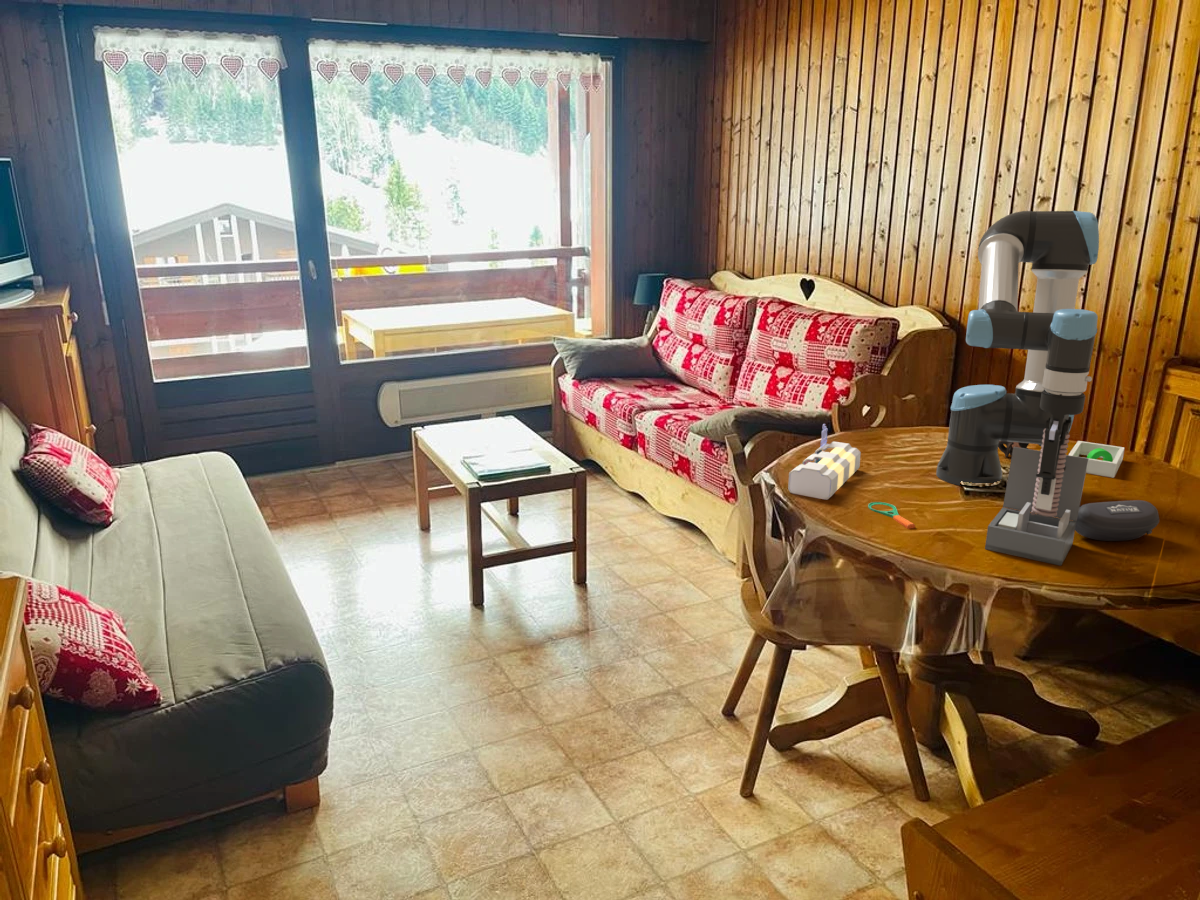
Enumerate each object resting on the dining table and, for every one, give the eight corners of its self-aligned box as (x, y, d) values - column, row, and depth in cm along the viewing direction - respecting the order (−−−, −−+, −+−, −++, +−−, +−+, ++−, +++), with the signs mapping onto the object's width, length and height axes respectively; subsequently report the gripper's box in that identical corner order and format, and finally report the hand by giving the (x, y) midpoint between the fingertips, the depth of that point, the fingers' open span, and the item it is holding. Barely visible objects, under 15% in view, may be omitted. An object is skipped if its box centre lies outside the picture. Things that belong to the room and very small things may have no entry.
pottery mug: (1042, 459, 233) (1052, 438, 227) (1034, 482, 228) (1044, 461, 222) (996, 443, 238) (1005, 422, 232) (987, 466, 233) (995, 445, 227)
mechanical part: (1093, 484, 220) (1099, 454, 218) (1083, 477, 226) (1088, 447, 224) (1143, 486, 219) (1149, 456, 217) (1131, 478, 225) (1137, 449, 223)
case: (984, 548, 176) (996, 465, 171) (1003, 524, 189) (1014, 446, 183) (1061, 565, 168) (1075, 478, 163) (1074, 539, 181) (1088, 457, 175)
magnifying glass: (862, 507, 200) (863, 501, 199) (885, 505, 201) (886, 498, 201) (898, 532, 186) (899, 525, 185) (923, 530, 187) (924, 522, 187)
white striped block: (819, 468, 228) (822, 420, 224) (858, 474, 223) (863, 425, 219) (787, 496, 207) (790, 444, 203) (830, 504, 202) (834, 450, 198)
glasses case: (1087, 549, 176) (1094, 513, 174) (1054, 530, 186) (1060, 495, 184) (1167, 544, 178) (1174, 508, 176) (1130, 525, 188) (1137, 491, 186)
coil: (1054, 513, 176) (1068, 428, 170) (1058, 521, 171) (1072, 434, 166) (1029, 511, 177) (1042, 426, 172) (1032, 519, 173) (1045, 432, 168)
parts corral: (1064, 470, 223) (1067, 456, 222) (1075, 454, 236) (1078, 440, 235) (1113, 478, 217) (1116, 463, 216) (1122, 461, 230) (1124, 447, 229)
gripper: (1078, 402, 158) (1058, 522, 164) (1092, 385, 171) (1074, 496, 178) (1033, 397, 162) (1016, 513, 169) (1050, 380, 175) (1034, 489, 182)
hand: (1046, 504), depth 173 cm, fingers closed on coil, 5 cm apart
